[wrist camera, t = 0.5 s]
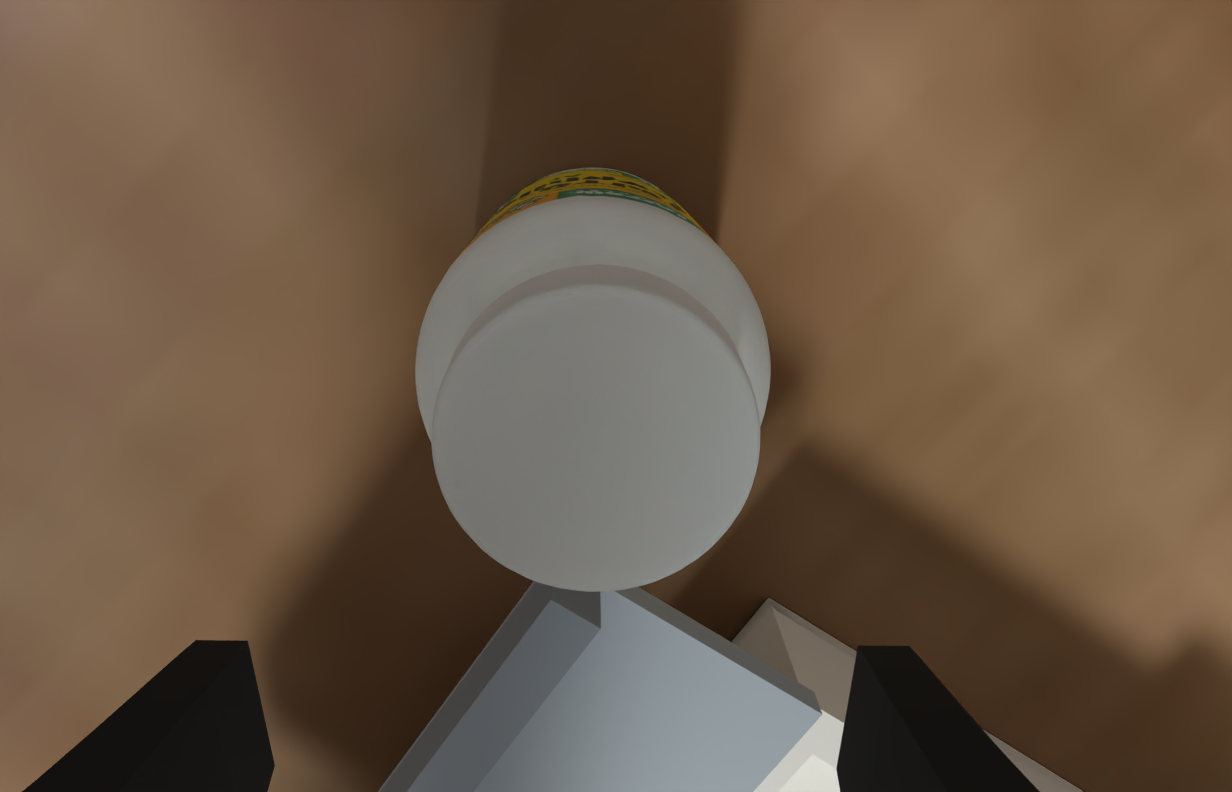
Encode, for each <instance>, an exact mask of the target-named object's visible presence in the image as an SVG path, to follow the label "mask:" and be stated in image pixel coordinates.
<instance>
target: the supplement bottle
mask: <svg viewBox="0 0 1232 792" xmlns="http://www.w3.org/2000/svg"><path fill="white" fill-rule="evenodd" d="M770 377H771V363H770V352H769V345H768V338H767V333H766V329H765V325H764V321H763V318H762V315H761V312H760V310H759V307H758V304H757V302H756V300H755V298H754V296H753V294H752V292H751V290H750V288H749V286H748V284H747V283H746V281H745V279H744V278H743V276H742V275H741V273H740V272H739V270H738V268H737V267H736V266H735V265H734V264H733V263H732V261H731V260H730V259H729V258H728V257H727V255H726V254H725V253H724V252H723V251H722V250H721V249H720V247H719V246H718V245H717V244H716V243H715V242H714V241H713V239H712V238H711V237H710V236H709V235H708V234H707V233H706V231H705V230H704V229H703V228H702V227H701V226H700V225H699V224H698V223H697V222H696V221H695V220H694V219H693V218H692V217H691V216H690V215H689V214H688V213H687V212H686V211H685V210H684V209H683V208H682V207H681V206H680V205H679V204H678V203H677V202H676V201H675V200H674V199H673V198H671V197H670V196H669V195H668V194H666V193H665V192H663V191H662V190H660V189H659V188H658V187H656V186H654V185H653V184H651V183H650V182H648V181H646V180H644V179H642V178H639V177H637V176H635V175H632V174H630V173H627V172H623V171H619V170H614V169H608V168H593V167H592V168H579V169H571V170H565V171H561V172H557V173H554V174H551V175H548V176H545V177H543V178H541V179H539V180H537V181H535V182H533V183H531V184H530V185H528V186H526V187H525V188H523V189H522V190H520V191H519V192H518V193H516V194H515V195H514V196H512V197H511V198H510V199H509V200H508V201H507V202H506V203H505V204H503V206H501V207H500V208H499V210H498V211H497V212H496V213H495V214H494V215H493V216H492V217H491V218H490V220H489V221H488V222H487V224H486V225H485V226H484V227H483V228H482V229H481V230H480V231H479V232H478V233H477V234H476V236H475V237H474V238H473V239H472V240H471V241H470V243H469V244H468V245H467V246H466V247H465V248H464V250H463V251H462V252H461V253H460V255H459V256H458V257H457V259H456V260H455V261H454V262H453V263H452V265H451V266H450V267H449V269H448V271H447V272H446V274H445V276H444V277H443V279H442V281H441V282H440V284H439V286H438V287H437V289H436V291H435V293H434V295H433V297H432V298H431V301H430V303H429V305H428V308H427V310H426V313H425V316H424V319H423V322H422V325H421V329H420V334H419V339H418V344H417V351H416V364H415V381H416V391H417V398H418V405H419V409H420V412H421V416H422V419H423V422H424V425H425V428H426V431H427V434H428V437H429V439H430V441H431V445H432V455H433V462H434V468H435V472H436V476H437V479H438V483H439V486H440V488H441V491H442V494H443V497H444V499H445V501H446V503H447V505H448V507H449V509H450V511H451V512H452V514H453V516H454V518H455V519H456V520H457V522H458V523H459V524H460V526H461V527H462V528H463V530H464V531H465V532H466V533H467V534H468V535H469V536H470V537H471V539H472V540H473V541H474V542H475V543H476V544H477V545H478V546H479V547H480V548H481V549H482V550H483V551H484V552H485V553H487V554H488V555H489V556H490V557H492V558H493V559H494V560H496V561H497V562H499V563H500V564H501V565H503V566H505V567H506V568H508V569H510V570H512V571H514V572H516V573H518V574H520V575H522V576H524V577H526V578H528V579H530V580H533V581H536V582H538V583H542V584H546V585H549V586H553V587H557V588H562V589H569V590H577V591H585V592H604V591H616V590H624V589H629V588H634V587H638V586H642V585H646V584H649V583H652V582H655V581H658V580H660V579H663V578H665V577H667V576H669V575H671V574H673V573H675V572H677V571H679V570H681V569H683V568H684V567H686V566H687V565H689V564H690V563H692V562H693V561H695V560H696V559H698V558H699V557H700V556H702V555H703V554H704V553H705V552H707V551H708V550H709V549H710V548H711V547H712V546H713V545H714V544H715V543H716V542H717V541H718V540H719V539H720V538H721V537H722V536H723V534H724V533H725V532H726V531H727V530H728V529H729V527H730V526H731V525H732V523H733V522H734V520H735V519H736V517H737V516H738V514H739V513H740V511H741V509H742V508H743V506H744V504H745V502H746V500H747V498H748V495H749V493H750V490H751V488H752V485H753V482H754V478H755V474H756V470H757V466H758V462H759V453H760V426H761V423H762V420H763V417H764V414H765V410H766V405H767V400H768V395H769V389H770Z"/></svg>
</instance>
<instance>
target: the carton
mask: <svg viewBox="0 0 1232 792" xmlns="http://www.w3.org/2000/svg"><path fill="white" fill-rule="evenodd" d="M732 643H733V644H735V645H737V646H738V647H740V648H742V649H743V650H745V651H747V652H748V653H750V654H752V655H753V656H755V657H757V658H758V659H760V660H762V661H763V662H765V663H767V664H768V665H770V666H772V667H773V668H775V669H777V670H779V671H780V672H782V673H784V674H785V675H787V676H789V677H790V678H792V679H794V680H795V681H797V682H799V683H800V684H802V685H804V686H805V687H807V688H809V689H810V690H812V691H814V693H815V695H816V698H817V701H818V703H819V706H820V709H821V712H822V716H821V717H820V718H819V719H818V720H817V721H816V722H815V723H814V725H813V726H812V727H811V728H810V729H809V730H808V731H807V732H806V733H805V735H804V736H803V737H802V738H801V739H800V740H799V741H798V742H797V744H796V745H795V746H794V747H793V748H792V749H791V750H790V751H789V752H788V754H787V755H786V756H785V757H784V758H783V759H782V760H781V761H780V763H779V764H778V765H777V766H776V767H775V768H774V769H773V770H772V771H771V773H770V774H769V775H768V776H767V777H766V778H765V779H764V780H763V782H762V783H761V784H760V785H759V786H758V787H757V788H756V789H755V790H754V792H840V787H839V781H838V776H837V770H836V768H837V762H838V756H839V751H840V745H841V739H842V734H843V728H844V722H845V716H846V711H847V705H848V699H849V694H850V688H851V682H852V676H853V671H854V665H855V659H856V653H857V652H856V651H855V650H853V649H852V648H850V647H848V646H847V645H845V644H843V643H842V642H840V641H839V640H837V639H835V638H834V637H832V636H830V635H829V634H827V633H826V632H824V631H822V630H821V629H819V628H817V627H816V626H814V625H813V624H811V623H809V622H808V621H806V620H805V619H803V618H801V617H800V616H798V615H796V614H795V613H793V612H792V611H790V610H788V609H787V608H785V607H783V606H782V605H780V604H779V603H777V602H775V601H774V600H772V599H770V598H769V597H768V598H767V600H766V601H765V602H764V603H763V604H762V606H761V607H760V608H759V609H758V610H757V612H756V613H755V614H754V615H753V616H752V618H751V619H750V620H749V621H748V622H747V624H746V625H745V626H744V627H743V628H742V630H741V631H740V632H739V633H738V634H737V636H736V637H735V638H734V639H733V640H732ZM984 732H985V733H986V734H987V735H988V736H989V737H990V738H991V739H992V741H993V742H994V743H995V744H996V745H997V746H998V747H999V748H1000V749H1001V750H1002V752H1003V753H1004V754H1005V755H1006V756H1007V757H1008V758H1009V759H1010V760H1011V761H1012V762H1013V764H1014V765H1015V766H1016V767H1017V768H1018V769H1019V770H1020V771H1021V772H1022V773H1023V774H1024V775H1025V776H1026V777H1027V778H1028V779H1029V781H1030V782H1031V783H1032V784H1033V785H1034V786H1035V787H1036V788H1037V789H1038V790H1039V791H1040V792H1084V791H1082V790H1080V789H1079V788H1077V787H1076V786H1074V785H1072V784H1071V783H1069V782H1067V781H1066V780H1064V779H1063V778H1061V777H1059V776H1058V775H1056V774H1054V773H1053V772H1051V771H1050V770H1048V769H1046V768H1045V767H1043V766H1041V765H1040V764H1038V763H1037V762H1035V761H1033V760H1032V759H1030V758H1028V757H1027V756H1025V755H1024V754H1022V753H1020V752H1019V751H1017V750H1015V749H1014V748H1012V747H1011V746H1009V745H1007V744H1006V743H1004V742H1003V741H1001V740H999V739H998V738H996V737H994V736H993V735H991V734H990V733H988V732H986V731H985V730H984Z"/></svg>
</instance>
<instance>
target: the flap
mask: <svg viewBox="0 0 1232 792" xmlns="http://www.w3.org/2000/svg"><path fill="white" fill-rule="evenodd" d="M821 716H822V712H821V709H820V706H819V703H818V701H817V698H816V695H815V693H814V691H812V690H810V689H809V688H807V687H805V686H804V685H802V684H800V683H799V682H797V681H795V680H794V679H792V678H790V677H789V676H787V675H785V674H784V673H782V672H780V671H779V670H777V669H775V668H773V667H772V666H770V665H768V664H767V663H765V662H763V661H762V660H760V659H758V658H757V657H755V656H753V655H752V654H750V653H748V652H747V651H745V650H743V649H742V648H740V647H738V646H737V645H735V644H733V643H732V642H730V641H728V640H727V639H725V638H723V637H722V636H720V635H718V634H717V633H715V632H713V631H712V630H710V629H708V628H707V627H705V626H703V625H701V624H700V623H698V622H696V621H695V620H693V619H691V618H690V617H688V616H686V615H685V614H683V613H681V612H680V611H678V610H676V609H675V608H673V607H671V606H670V605H668V604H666V603H665V602H663V601H661V600H660V599H658V598H656V597H655V596H653V595H651V594H650V593H648V592H646V591H645V590H643V589H641V588H640V587H634V588H629V589H624V590H616V591H604V592H585V591H577V590H569V589H562V588H557V587H553V586H549V585H546V584H542V583H538V582H536V581H533V583H532V584H531V585H530V587H529V588H528V589H527V591H526V592H525V593H524V595H523V596H522V598H521V599H520V600H519V602H518V603H517V604H516V606H515V607H514V608H513V610H512V611H511V612H510V614H509V615H508V616H507V618H506V619H505V621H504V622H503V623H502V625H501V626H500V627H499V629H498V630H497V631H496V633H495V634H494V635H493V637H492V638H491V639H490V641H489V642H488V643H487V645H486V646H485V648H484V649H483V650H482V652H481V653H480V654H479V656H478V657H477V658H476V660H475V661H474V662H473V664H472V665H471V666H470V668H469V669H468V670H467V672H466V673H465V675H464V676H463V677H462V679H461V680H460V681H459V683H458V684H457V685H456V687H455V688H454V689H453V691H452V692H451V693H450V695H449V696H448V698H447V699H446V700H445V702H444V703H443V704H442V706H441V707H440V708H439V710H438V711H437V712H436V714H435V715H434V716H433V718H432V719H431V720H430V722H429V723H428V725H427V726H426V727H425V729H424V730H423V731H422V733H421V734H420V735H419V737H418V738H417V739H416V741H415V742H414V743H413V745H412V746H411V747H410V749H409V750H408V752H407V753H406V754H405V756H404V757H403V758H402V760H401V761H400V762H399V764H398V765H397V766H396V768H395V769H394V770H393V772H392V773H391V775H390V776H389V777H388V779H387V780H386V781H385V783H384V784H383V785H382V787H381V788H380V789H379V791H378V792H754V790H755V789H756V788H757V787H758V786H759V785H760V784H761V783H762V782H763V780H764V779H765V778H766V777H767V776H768V775H769V774H770V773H771V771H772V770H773V769H774V768H775V767H776V766H777V765H778V764H779V763H780V761H781V760H782V759H783V758H784V757H785V756H786V755H787V754H788V752H789V751H790V750H791V749H792V748H793V747H794V746H795V745H796V744H797V742H798V741H799V740H800V739H801V738H802V737H803V736H804V735H805V733H806V732H807V731H808V730H809V729H810V728H811V727H812V726H813V725H814V723H815V722H816V721H817V720H818V719H819V718H820V717H821Z"/></svg>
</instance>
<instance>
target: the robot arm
mask: <svg viewBox="0 0 1232 792" xmlns="http://www.w3.org/2000/svg"><path fill="white" fill-rule="evenodd" d="M274 766H275V765H274V760H273V755H272V751H271V746H270V742H269V737H268V732H267V728H266V723H265V719H264V714H263V709H262V705H261V700H260V696H259V691H258V686H257V682H256V677H255V673H254V668H253V663H252V659H251V654H250V650H249V645H248V641H214V640H196V641H195V642H193V643H192V644H191V645H190V646H189V647H187V648H186V649H185V650H184V651H183V652H182V653H180V654H179V655H178V656H177V657H176V658H175V659H173V660H172V661H171V662H170V663H169V664H168V665H167V666H166V667H164V668H163V669H162V670H161V671H160V672H159V673H158V674H157V675H155V676H154V677H153V678H152V679H151V680H150V681H149V682H148V683H147V684H145V685H144V686H143V687H142V688H141V689H140V690H139V691H138V692H136V693H135V694H134V695H133V696H132V697H131V698H130V699H129V700H127V701H126V702H125V703H124V704H123V705H122V706H121V707H120V708H118V709H117V710H116V711H115V712H114V713H113V714H112V715H111V716H109V717H108V718H107V719H106V720H105V721H104V722H103V723H102V724H100V725H99V726H98V727H97V728H96V729H95V730H94V731H92V732H91V733H90V734H89V735H88V736H87V737H85V738H84V739H83V740H82V741H81V742H80V743H79V744H77V745H76V746H75V747H74V748H73V749H72V750H70V751H69V752H68V753H67V754H66V755H65V756H64V757H62V758H61V759H60V760H59V761H58V762H57V763H55V764H54V765H53V766H52V767H51V768H50V769H49V770H47V771H46V772H45V773H44V774H43V775H42V776H40V777H39V778H38V779H37V780H36V781H35V782H33V783H32V784H31V785H30V786H28V787H27V788H26V789H25V790H23V791H22V792H267V791H268V787H269V784H270V780H271V777H272V773H273V770H274ZM836 770H837V776H838V781H839V787H840V792H1040V791H1039V790H1038V789H1037V788H1036V787H1035V786H1034V785H1033V784H1032V783H1031V782H1030V781H1029V779H1028V778H1027V777H1026V776H1025V775H1024V774H1023V773H1022V772H1021V771H1020V770H1019V769H1018V768H1017V767H1016V766H1015V765H1014V764H1013V762H1012V761H1011V760H1010V759H1009V758H1008V757H1007V756H1006V755H1005V754H1004V753H1003V752H1002V750H1001V749H1000V748H999V747H998V746H997V745H996V744H995V743H994V742H993V741H992V739H991V738H990V737H989V736H988V735H987V734H986V733H985V732H984V730H983V729H982V728H981V727H980V726H979V725H978V724H977V723H976V721H975V720H974V719H973V718H972V717H971V716H970V715H969V713H968V712H967V711H966V710H965V709H964V708H963V707H962V705H961V704H960V703H959V702H958V701H957V700H956V699H955V697H954V696H953V695H952V694H951V693H950V692H949V691H948V689H947V688H946V687H945V686H944V685H943V684H942V682H941V681H940V680H939V679H938V678H937V677H936V676H935V674H934V673H933V672H932V671H931V670H930V669H929V668H928V666H927V665H926V664H925V663H924V662H923V661H922V660H921V658H920V657H919V656H918V655H917V654H916V653H915V652H914V651H913V650H912V649H911V647H910V646H858V648H857V653H856V659H855V665H854V671H853V676H852V682H851V688H850V694H849V699H848V705H847V711H846V716H845V722H844V728H843V734H842V739H841V745H840V751H839V756H838V762H837V768H836Z"/></svg>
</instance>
